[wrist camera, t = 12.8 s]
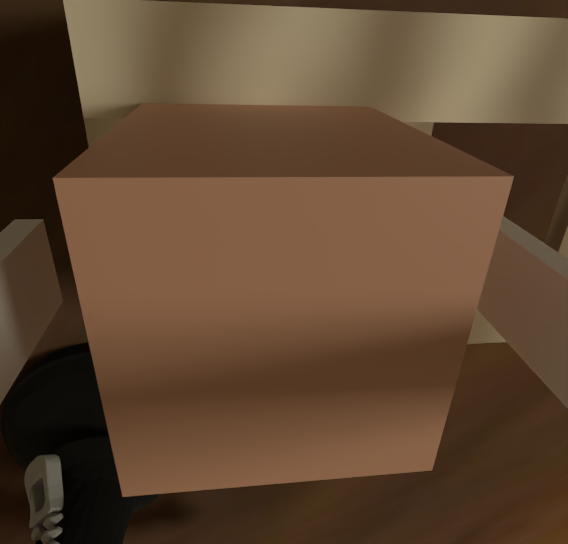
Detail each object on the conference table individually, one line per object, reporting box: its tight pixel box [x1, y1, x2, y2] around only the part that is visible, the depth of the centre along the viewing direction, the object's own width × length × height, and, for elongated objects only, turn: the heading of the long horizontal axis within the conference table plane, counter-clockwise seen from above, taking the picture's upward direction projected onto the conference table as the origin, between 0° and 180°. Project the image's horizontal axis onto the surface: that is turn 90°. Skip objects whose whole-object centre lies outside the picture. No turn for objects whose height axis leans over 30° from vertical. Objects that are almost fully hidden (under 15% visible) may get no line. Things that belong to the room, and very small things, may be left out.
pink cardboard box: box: [53, 103, 514, 497], centre depth 15 cm, size 8×8×12 cm
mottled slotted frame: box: [63, 0, 568, 344], centre depth 22 cm, size 22×14×9 cm, turn 88°
